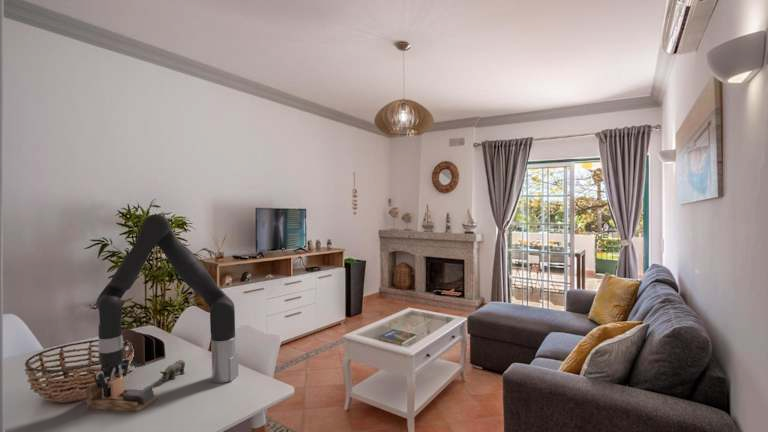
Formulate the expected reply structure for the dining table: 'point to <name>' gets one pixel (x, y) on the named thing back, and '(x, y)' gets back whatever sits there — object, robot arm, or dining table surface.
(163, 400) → the dining table surface
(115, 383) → the block
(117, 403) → the wooden tray
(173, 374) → the rhino figurine
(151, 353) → the letter holder
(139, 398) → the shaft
